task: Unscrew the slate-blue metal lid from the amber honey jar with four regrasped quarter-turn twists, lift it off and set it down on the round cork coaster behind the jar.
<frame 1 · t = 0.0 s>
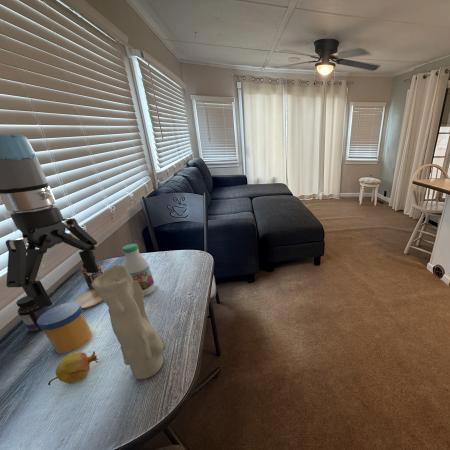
hand: (71, 287, 61), 22 cm above the table, tool pointing down, fingers open, 13 cm apart
supplement bottle: (98, 285, 100), on the table
jar: (74, 341, 73), on the table
milk bottle: (145, 291, 95), on the table
lid: (60, 314, 69), point 11 cm above the table, screwed on, not yet turned
pill bottle: (42, 325, 79), on the table
vase: (151, 367, 64), on the table
fruit: (78, 376, 62), on the table
coaster: (92, 298, 91), on the table
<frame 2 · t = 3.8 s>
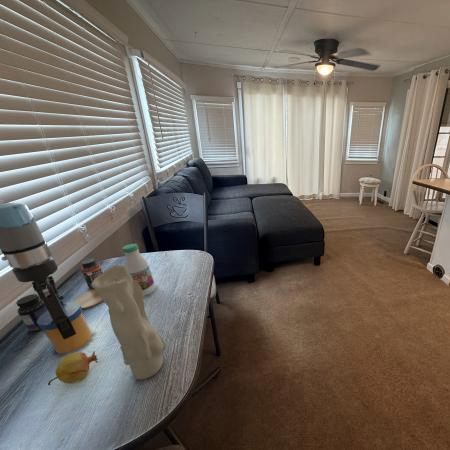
hand: (67, 327, 71), 5 cm above the table, tool pointing down, fingers closed on lid, 9 cm apart
lid: (60, 314, 69), point 11 cm above the table, screwed on, not yet turned, touching gripper
everything else where it was.
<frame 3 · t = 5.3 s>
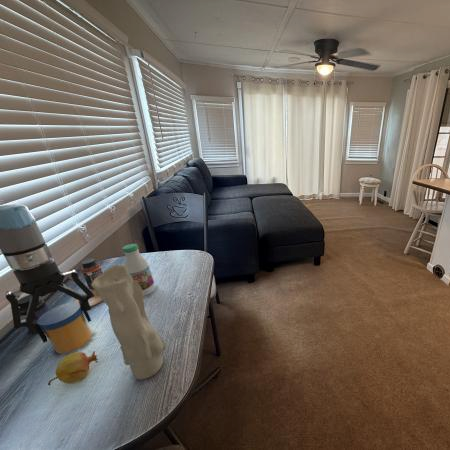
hand: (68, 329, 71), 5 cm above the table, tool pointing down, fingers closed on lid, 9 cm apart
jar: (74, 341, 73), on the table, touching lid
lid: (60, 314, 69), point 10 cm above the table, off its thread, touching gripper, jar
everything else where it was.
when the fingers open (5 cm above the table, at t = 5.7 s): lid stays where it is, resting on jar.
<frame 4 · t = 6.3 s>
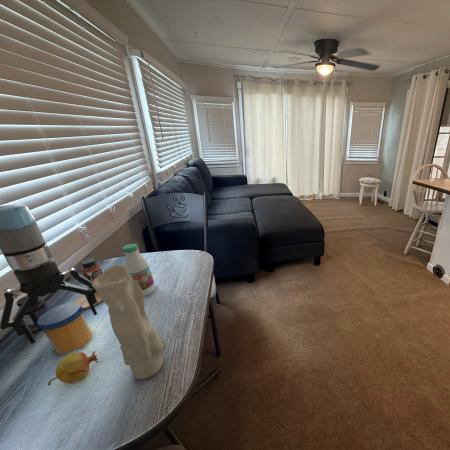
hand: (66, 325, 70), 6 cm above the table, tool pointing down, fingers open, 13 cm apart
lid: (60, 314, 69), point 10 cm above the table, off its thread, touching jar
everything else where it was.
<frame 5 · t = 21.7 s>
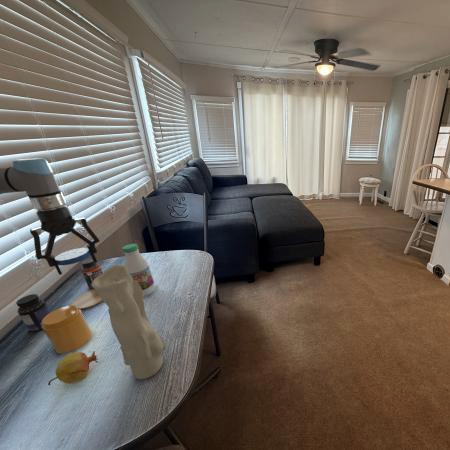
hand: (78, 267, 86), 14 cm above the table, tool pointing down, fingers closed on lid, 9 cm apart
jar: (74, 341, 73), on the table
lid: (72, 255, 84), point 19 cm above the table, off its thread, touching gripper
everything else where it was.
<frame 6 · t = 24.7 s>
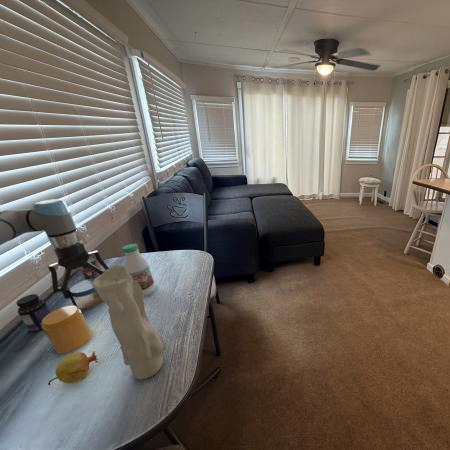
hand: (91, 296, 91), 1 cm above the table, tool pointing down, fingers closed on lid, 9 cm apart
lid: (86, 286, 89), point 6 cm above the table, off its thread, touching gripper
everything else where it was.
when the fingers open (1 cm above the table, at t = 28.5 s): lid drops 4 cm, resting on coaster.
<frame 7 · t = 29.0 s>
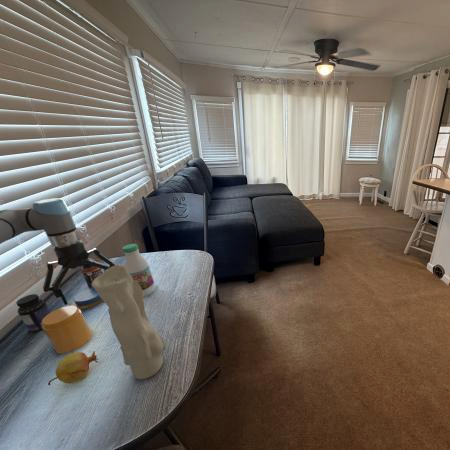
hand: (89, 293, 90), 2 cm above the table, tool pointing down, fingers open, 13 cm apart
lid: (90, 294, 91), point 2 cm above the table, off its thread, touching coaster
everything else where it was.
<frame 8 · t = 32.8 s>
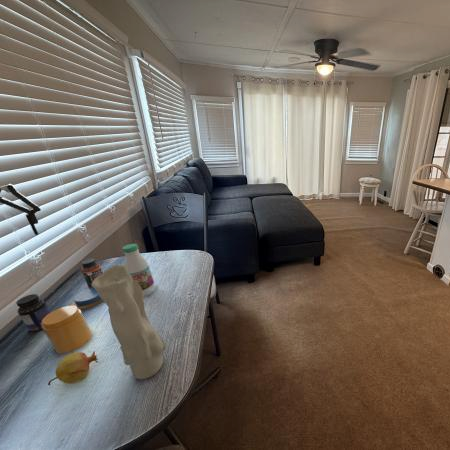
hand: (5, 241, 73), 29 cm above the table, tool pointing down, fingers open, 13 cm apart
nothing on the table moved.
at the end: lid came off its thread; lid inside the target area on the coaster (0.0 cm from its centre), point 2.0 cm above the coaster's base; the gripper is holding nothing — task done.
